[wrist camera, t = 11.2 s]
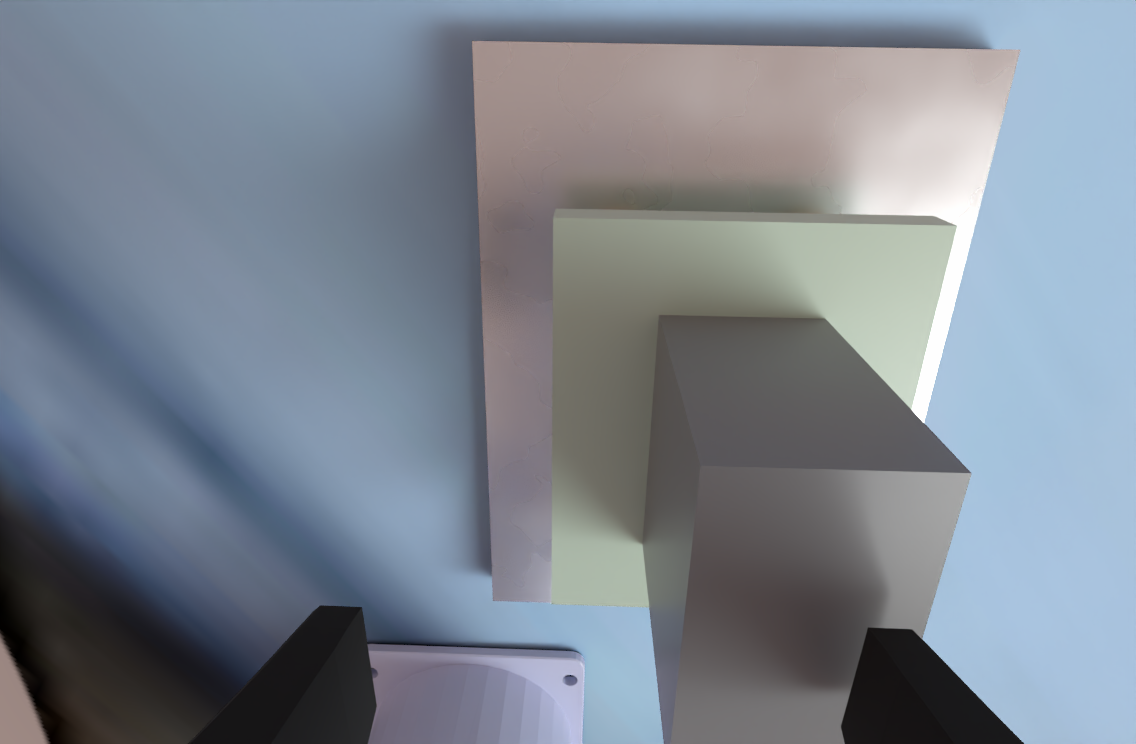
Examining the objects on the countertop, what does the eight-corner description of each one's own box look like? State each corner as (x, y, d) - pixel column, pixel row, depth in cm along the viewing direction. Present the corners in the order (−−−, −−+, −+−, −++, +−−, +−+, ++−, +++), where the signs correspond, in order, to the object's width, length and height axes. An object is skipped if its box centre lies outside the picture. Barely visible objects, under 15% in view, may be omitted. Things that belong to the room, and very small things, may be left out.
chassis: (862, 591, 22) (900, 665, 19) (496, 579, 22) (484, 649, 20) (995, 51, 16) (1080, 47, 13) (478, 42, 16) (455, 37, 13)
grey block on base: (847, 587, 18) (984, 862, 12) (553, 577, 19) (534, 844, 12) (933, 215, 14) (1209, 332, 8) (555, 208, 15) (527, 317, 8)
